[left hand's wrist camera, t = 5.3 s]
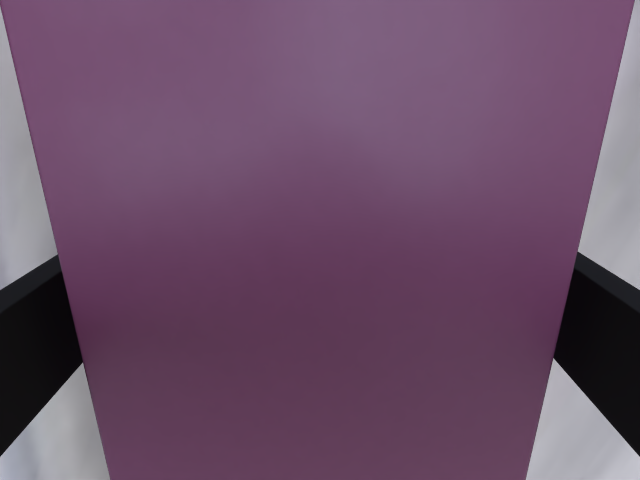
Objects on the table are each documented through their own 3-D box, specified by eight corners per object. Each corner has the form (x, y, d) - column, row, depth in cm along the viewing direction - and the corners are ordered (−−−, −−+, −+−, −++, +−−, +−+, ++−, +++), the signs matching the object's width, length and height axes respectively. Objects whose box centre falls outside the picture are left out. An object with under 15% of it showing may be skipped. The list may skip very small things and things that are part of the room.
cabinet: (162, -263, 14) (-329, -1390, 3) (472, -262, 14) (950, -1367, 3) (215, 296, 21) (113, 499, 10) (420, 296, 21) (523, 497, 11)
